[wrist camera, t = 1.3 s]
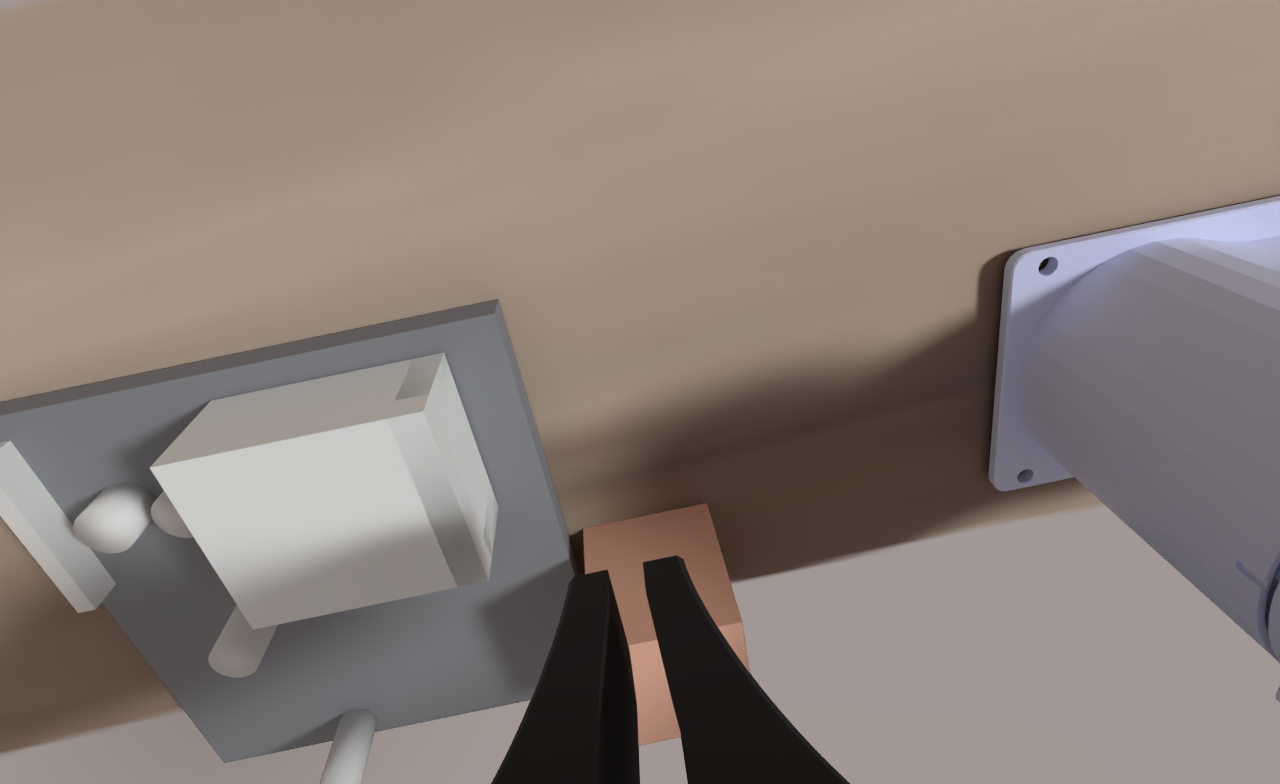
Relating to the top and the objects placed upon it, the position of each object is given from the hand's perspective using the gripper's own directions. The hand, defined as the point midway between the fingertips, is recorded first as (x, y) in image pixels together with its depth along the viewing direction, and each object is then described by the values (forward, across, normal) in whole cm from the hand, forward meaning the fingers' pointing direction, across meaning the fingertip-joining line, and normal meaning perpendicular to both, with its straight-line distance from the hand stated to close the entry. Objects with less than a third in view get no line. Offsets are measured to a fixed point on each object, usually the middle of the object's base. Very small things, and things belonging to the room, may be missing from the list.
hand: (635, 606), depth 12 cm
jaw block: (+8, 0, +7) cm, 11 cm away
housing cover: (+7, +7, 0) cm, 10 cm away
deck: (+8, +9, +4) cm, 13 cm away
